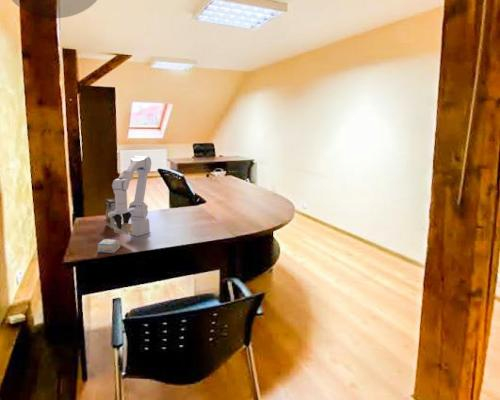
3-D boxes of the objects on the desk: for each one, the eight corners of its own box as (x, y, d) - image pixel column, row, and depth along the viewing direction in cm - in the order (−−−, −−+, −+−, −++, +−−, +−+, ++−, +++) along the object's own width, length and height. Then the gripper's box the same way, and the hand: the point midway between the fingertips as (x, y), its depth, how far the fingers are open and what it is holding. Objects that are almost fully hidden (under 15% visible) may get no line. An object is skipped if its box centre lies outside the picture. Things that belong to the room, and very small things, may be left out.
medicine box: (120, 239, 186) (113, 244, 177) (120, 247, 187) (114, 253, 178) (104, 238, 186) (97, 244, 177) (105, 247, 187) (97, 252, 178)
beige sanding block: (119, 231, 196) (118, 222, 195) (132, 233, 189) (131, 223, 188) (114, 232, 194) (113, 223, 193) (127, 234, 187) (126, 225, 186)
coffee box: (106, 225, 223) (104, 199, 220) (116, 223, 228) (115, 198, 224) (111, 228, 217) (109, 202, 213) (122, 226, 221) (120, 200, 217)
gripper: (128, 198, 196) (130, 223, 199) (103, 203, 185) (105, 229, 188) (136, 200, 192) (138, 225, 195) (111, 205, 181) (113, 232, 184)
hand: (122, 227), depth 191 cm, fingers closed on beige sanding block, 3 cm apart
